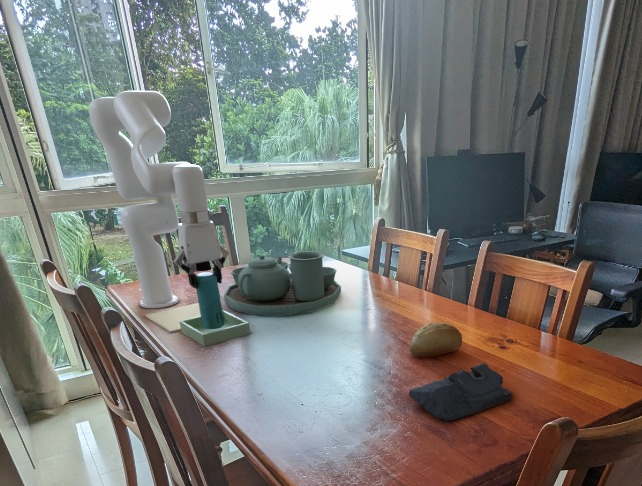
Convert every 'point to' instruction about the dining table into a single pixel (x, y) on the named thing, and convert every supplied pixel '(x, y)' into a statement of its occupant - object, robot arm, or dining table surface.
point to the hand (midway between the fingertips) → (206, 284)
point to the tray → (211, 336)
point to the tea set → (283, 285)
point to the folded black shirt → (462, 393)
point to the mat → (175, 316)
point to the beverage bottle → (209, 297)
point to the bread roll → (435, 340)
